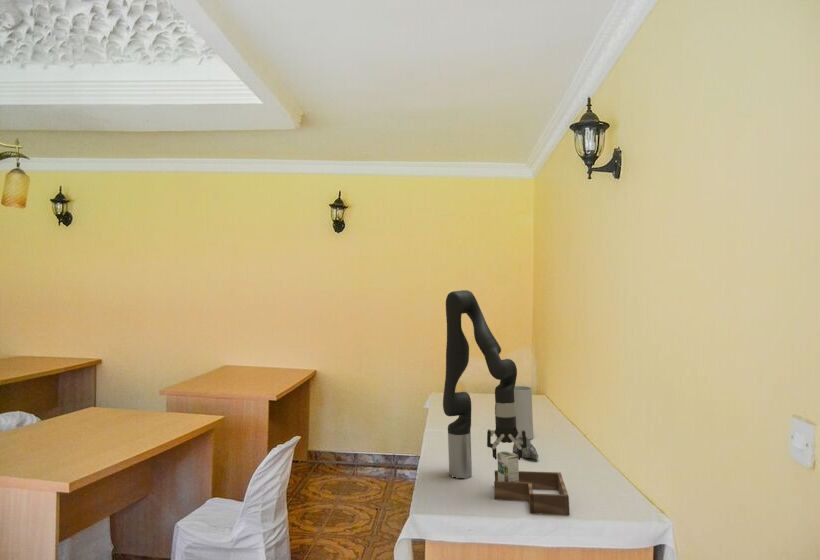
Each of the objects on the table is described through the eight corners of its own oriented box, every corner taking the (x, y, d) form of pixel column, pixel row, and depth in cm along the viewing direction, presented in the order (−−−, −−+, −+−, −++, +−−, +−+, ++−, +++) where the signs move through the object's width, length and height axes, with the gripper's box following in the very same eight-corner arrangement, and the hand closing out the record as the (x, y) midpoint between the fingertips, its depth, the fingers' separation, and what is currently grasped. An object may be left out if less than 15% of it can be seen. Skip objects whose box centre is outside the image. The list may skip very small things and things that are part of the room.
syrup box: (497, 492, 184) (496, 452, 184) (511, 489, 186) (509, 449, 187) (506, 497, 178) (505, 456, 179) (520, 494, 181) (518, 454, 181)
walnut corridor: (495, 486, 189) (494, 470, 189) (561, 488, 185) (560, 472, 185) (494, 511, 167) (493, 493, 167) (569, 514, 163) (568, 496, 163)
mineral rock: (539, 462, 215) (538, 439, 215) (513, 462, 217) (512, 438, 217) (536, 453, 228) (535, 431, 228) (512, 452, 229) (511, 430, 230)
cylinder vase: (523, 442, 244) (521, 391, 245) (503, 438, 253) (501, 388, 254) (538, 437, 252) (536, 387, 253) (518, 433, 262) (516, 385, 262)
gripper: (524, 412, 186) (527, 456, 185) (486, 412, 188) (488, 455, 187) (525, 416, 178) (527, 462, 177) (485, 416, 181) (487, 461, 180)
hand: (507, 459), depth 182 cm, fingers open, 8 cm apart
